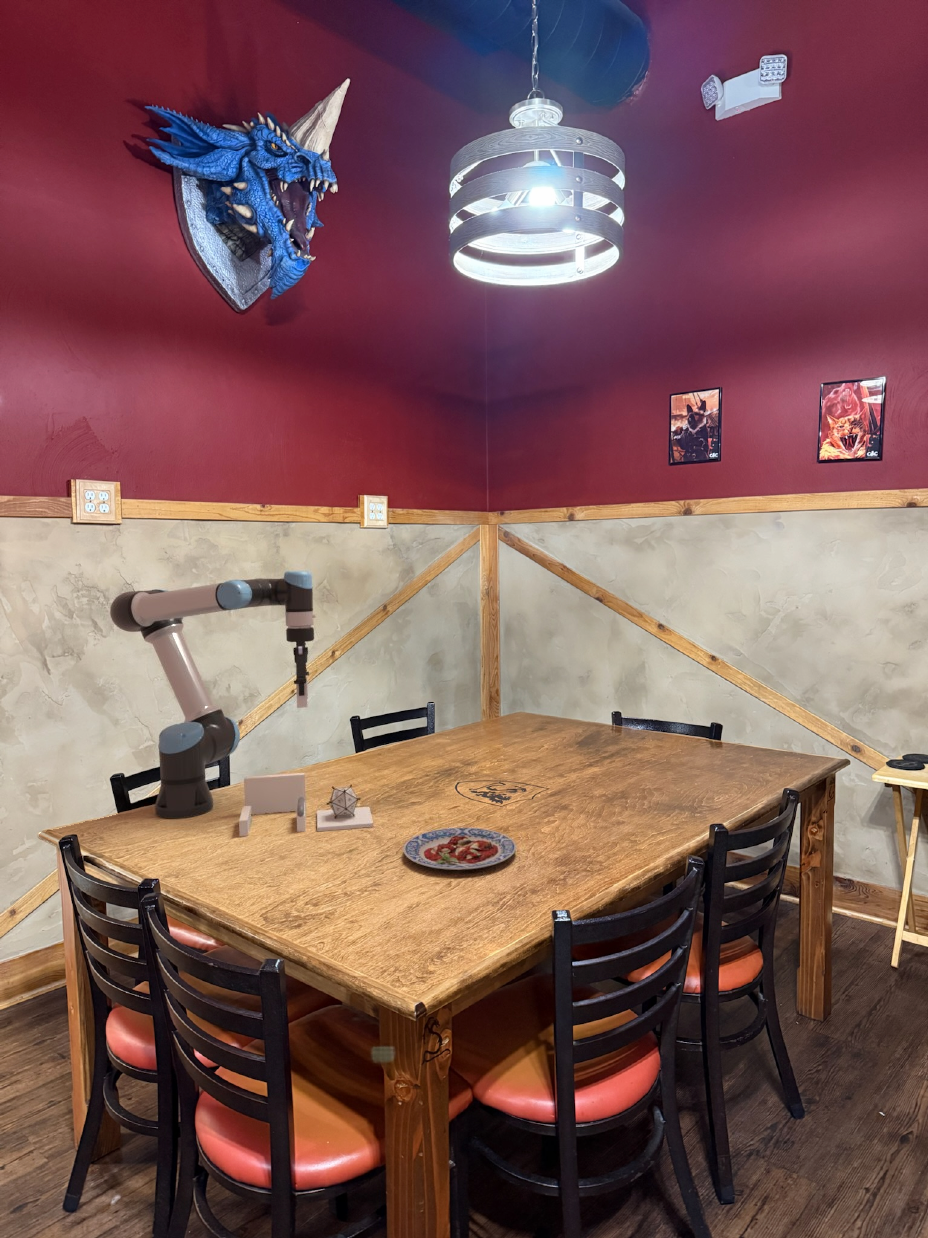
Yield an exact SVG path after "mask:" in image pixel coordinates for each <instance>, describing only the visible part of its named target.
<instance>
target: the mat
mask: <svg viewBox="0 0 928 1238" xmlns="http://www.w3.org/2000/svg"><path fill="white" fill-rule="evenodd" d="M371 812H372V811H371V808H370V806H362V807H361V806H360V807H359V806H358V807H355V810H354V813H353V814H354V815H355V817H354V816H353V815H352V814H351V815H343V816H337V817H336V819H335V816H336V815H335V814H334V812H333V810H332V809H322V810H321V809H319V810H317V811H316V823H317V825H316V827H317V828H316V830H317V832H330V831H340V830H352V829H364V828H363V827H367V828H373V827H374V821H373V817H372V813H371ZM329 830H330V831H329Z"/></svg>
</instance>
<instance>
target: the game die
mask: <svg viewBox="0 0 928 1238" xmlns="http://www.w3.org/2000/svg"><path fill="white" fill-rule="evenodd" d="M352 787H353V784H350V786H347V787H346V786H345V787H334V786H333V785H332V786H331V788H332V789H333V791H332V792H331V797H330V798H329V801H328V802H326V805H327V806H328V805H329V807H330V809H331V810H333V812H334V814H335V815H336V816H335V819H336V817H337V816H343V815H351V814H352V815H353V816H354V817H355V815H354V814H353V813H354V810H355V808H357V804H358V802H359V801H360V800H361V798H360V797H358V796H357V795H356V793H355V792H354V790H353V789H352Z"/></svg>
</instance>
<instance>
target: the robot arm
mask: <svg viewBox="0 0 928 1238" xmlns="http://www.w3.org/2000/svg"><path fill="white" fill-rule="evenodd" d="M313 589H314V585H313V575H312V573H311V572H310V571H308V570H305V571H304V570H299V571H298V570H297V571H296V570H293V571H292V570H291V571H285V572H284V574H283V577H282V578H262V577H261V578H252V579H231V580H227V581H225V582H219V583H213V584H207V585H201V586H193V587H188V588H181V589H174V590H170V591H169V590H166V589H165V590H164V589H151V590H150V589H149V590H136V591H135V590H133V591H132V590H131V591H125V592H123V593H121V594H119V595H117V596H116V597H115V598H114V599H113V601H112V603H111V605H110V609H109V612H110V613H109V614H110V618H111V620H112V622H113V623H114V625H115V626H116V627H117V628H119V629H120V630H123V631H124V632H131V633H137V632H140V633H141V635H142V637H143V640H144V641H145V642H146V643H149V644H151V645H152V646H153V649H154V651H155V653H156V655H157V658H158V660H159V662H160V664H161V667H162V669H163V672H164V673H165V675H166V677H167V680H168V682H169V684H170V686H171V689H172V691H173V693H174V695H175V698H176V700H177V703H178V705H179V707H180V709H181V711H182V713H183V716H184V721H183V722H179V723H176V724H172V725H169V726H167V727H165V728H163V729H162V730H161V731H160V733H159V735H158V757H159V758H158V759H159V773H160V787H159V790H158V794H157V798H156V800H155V804H154V811H155V815H156V816H157V817H160V818H163V819H183V818H190V817H195V816H200V815H203V814H206V813H208V812H210V811H211V810H213V808H214V798H213V796H212V793H211V791H210V788H209V786H208V782H207V781H206V766H207V765H210V764H212V763H214V762H216V761H220V760H223V759H225V758H226V757H228V756H230V755H231V754H233V753H234V752H235V751H236V750H237V748H238V746H239V743H240V739H241V732H240V728H239V726H238V724H237V722H236V721H235V720H234V719H232V718H230V717H228V716H225V714H224V712H223V710H222V708H221V707H219V706H217V705H215V704H214V703H213V701H212V698H211V696H210V695H209V691H208V690H207V687H206V686H205V685H206V684H205V683H204V681H203V678H202V675H200V672H199V670H198V667H197V665H196V663H195V661H194V658H193V656H192V654H191V651H190V650H189V648H188V646H187V643H186V641H185V639H184V636H183V634H182V631H183V629H184V627H185V626H184V624H183V619H184V618H186V617H193V616H199V615H206V614H211V613H219V612H225V611H233V610H234V611H235V610H241V609H247V608H248V609H249V608H257V607H258V608H259V607H267V606H268V607H270V606H272V607H273V606H284V607H285V608H284V609H285V612H284V613H285V626H286V627H287V628H286V629H285V631H286V632H285V634H286V641H287V642H288V643H295V647H293V650H292V651H293V656H294V660H293V661H294V664H295V668H296V669H295V671H296V678H295V680H293V684H294V685H296V689H295V690H296V708H298V709H299V708H300V709H301V708H302V709H303V708H308V697H309V695H308V676H310V672H309V671H307V663H308V655H309V648H308V646H306V644H307V643H308V642H313V641H314V640H315V628H314V627H313V625H314V619H315V618H317V616H316V614H314V608H313V607H314V605H313V604H314V603H313V602H314V601H313V600H314V598H313V594H314V593H313V591H314V590H313ZM306 642H307V643H306Z"/></svg>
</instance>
